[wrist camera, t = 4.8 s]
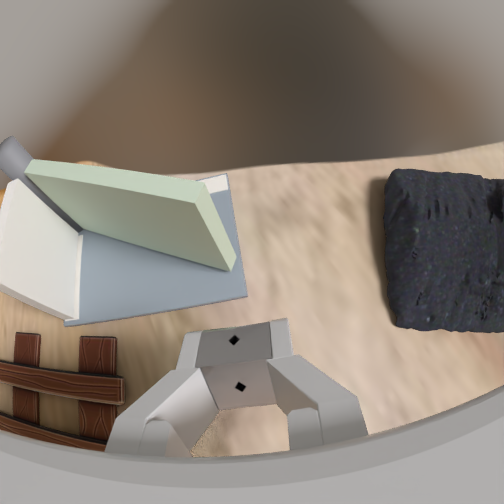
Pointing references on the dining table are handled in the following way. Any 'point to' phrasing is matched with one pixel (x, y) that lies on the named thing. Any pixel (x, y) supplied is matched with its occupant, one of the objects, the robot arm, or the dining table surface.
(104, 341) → the decorative fence
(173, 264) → the card
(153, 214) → the green wall panel
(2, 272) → the fence post and white panel
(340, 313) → the dining table surface
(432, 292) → the dark slate chunk
